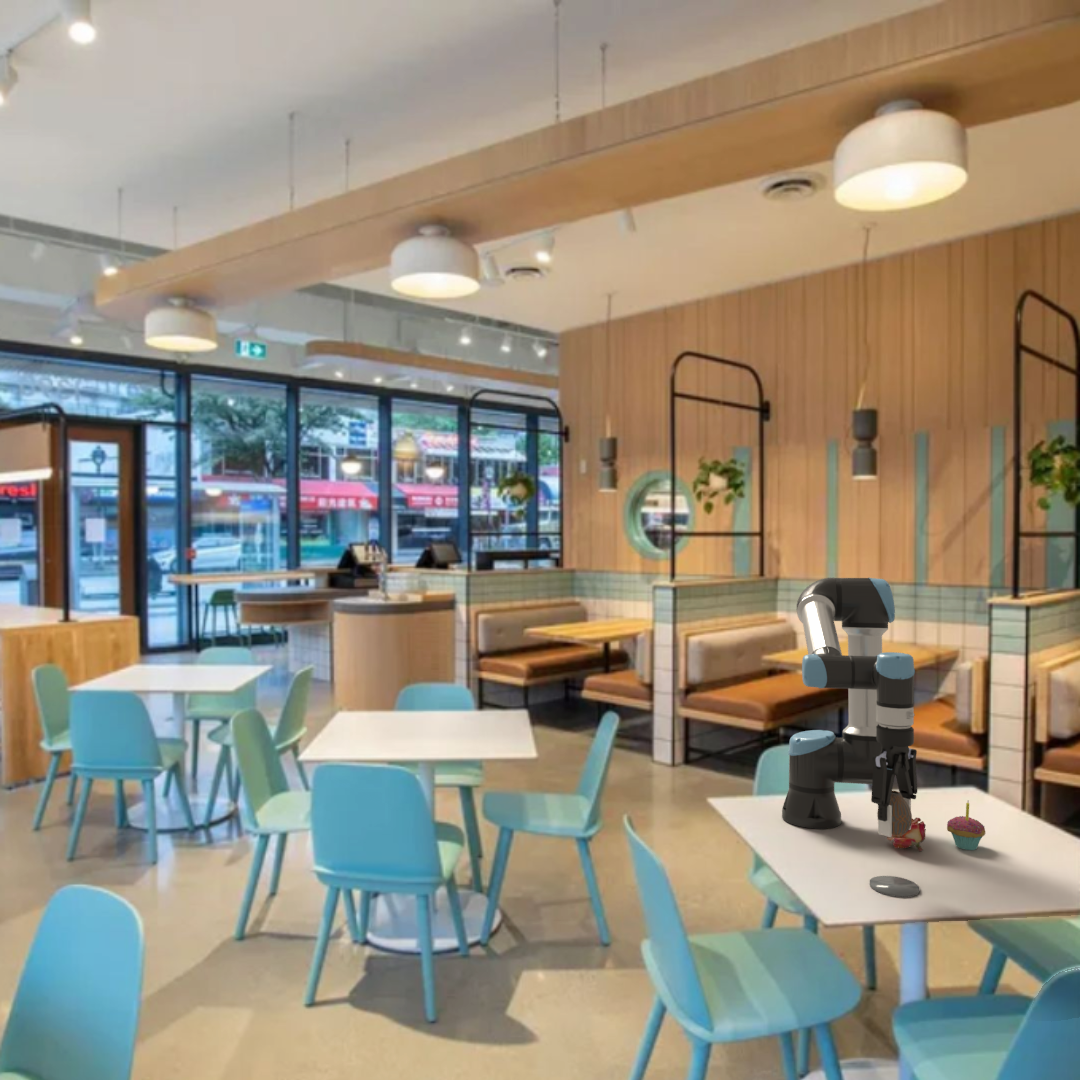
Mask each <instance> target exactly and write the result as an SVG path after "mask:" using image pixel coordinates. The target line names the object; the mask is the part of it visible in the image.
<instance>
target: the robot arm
mask: <svg viewBox="0 0 1080 1080" xmlns="http://www.w3.org/2000/svg"><path fill="white" fill-rule="evenodd" d="M895 610H896V609H895V601H894V595H893V591H892V588H891V586H890V584H889V583H888V581H887V580H885V579H883V578H875V577H874V578H872V577H826V578H821V579H819V580H816V581H814V582H812V583H811V584H809V585H808V586H807V587H806V588H805V589H804V590H802V592H801V593H800V595H799V597H798V598H797V603H796V613H797V617H798V620H799V621H800V622H801V623H802V625H803V631H804V632H803V633H804V637H805V638H804V639H805V642H806V649H807V654H805V655H803V657H802V660H801V676H802V677H801V678H802V682H803V685H804V686H805V687H807V688H808V687H809V688H818V689H847V690H848V700H847V701H848V724H847V726H846V727H845V728H843V730H842V736H841V737H836V735H835V732H833V731H831V730H827V729H826V730H824V729H812V730H805V731H799V732H796V733H794V734H792V736H791V737H790V739H789V743H788V745H789V746H788V752H787V753H788V755H789V756H788V762H789V763H788V765H789V767H788V789H787V790H788V791H787V793H786V796H785V800H784V803H783V805H782V808H781V817H782V820H783V821H784V822H786V823H788V824H790V825H794V826H796V827H801V828H805V829H822V830H823V829H832V828H836V827H839V826H840V825H841V824H842V812H841V811H840V806H839V804H838V800H837V797H836V793H835V783H841V784H863V785H870V786H872V787H871V797H870V798H871V799H870V801H871V803H873V804H876V805H877V812H878V817H877V821H878V822H877V824H878V825H877V826H878V827H877V830H878V831H877V834H878V835H880V836H881V835H882V836H885V837H886V838H887V837H892V806H890V805H889V803H890V798H891V793H892V791H893V786H894V783H895V777H896V781H897V786H898V792H900V793H901V795H902V797H903V799H904V800H905V801H906V803H907V804H908V805H909V807H910V810H911V811H912V800H916V799H917V794H918V780H917V779H918V778H917V749H914V748H910V747H911V746H912V745H914V743H915V737H914V736H915V729H914V727H913V725H914V717H915V713H914V712H915V710H914V706H915V701H914V700H915V697H914V696H915V674H916V669H915V664H914V662H915V661H914V657H913V656H912V655H911V654H909V653H904V652H892V651H888V652H887V651H886V652H883V635H884V634H885V633H886V632H887V631H888V630H889V623H890V624H891V623H894V622H895V619H896V612H895ZM835 622H841V629H842V630H843V631H844V632H845V633H846V634H847V655H843V654H842V653H843V652H842V650H841V649H842V648H841V644H840V640H839V637H838V632H837V630H836V629H837V628H836V625H835ZM910 829H911V826H910ZM910 829H909V830H910Z"/></svg>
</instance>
